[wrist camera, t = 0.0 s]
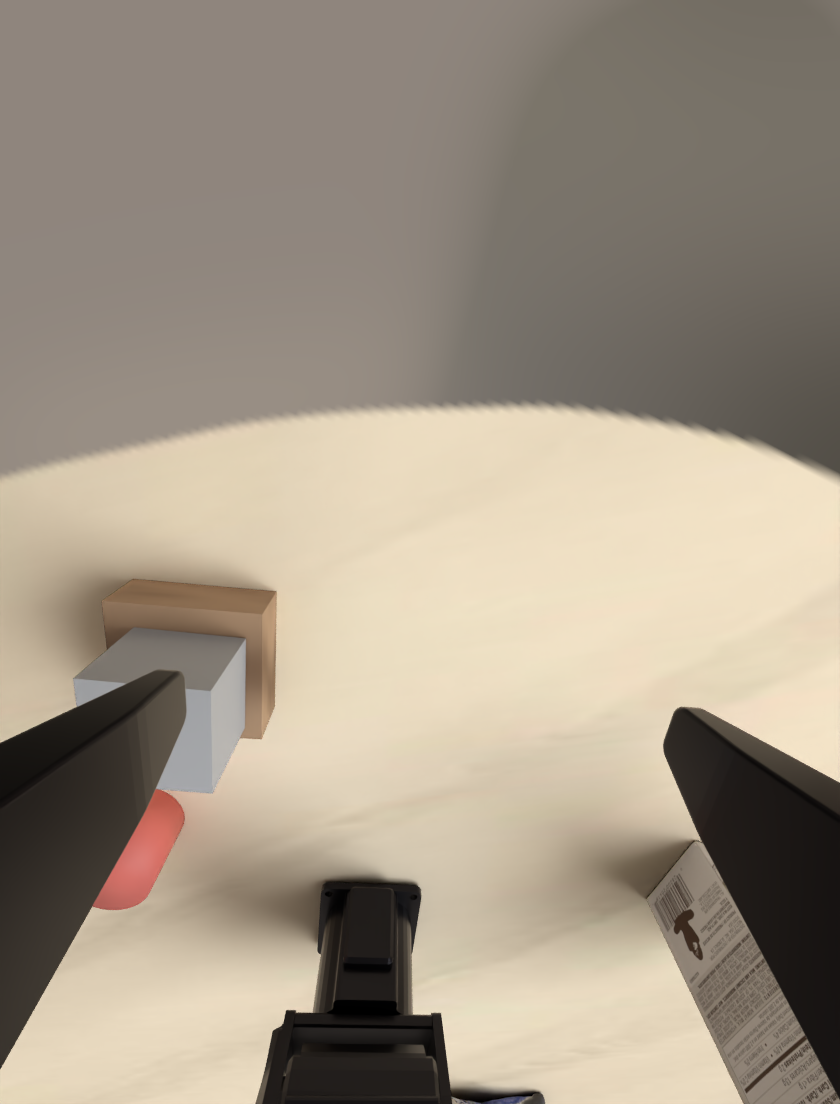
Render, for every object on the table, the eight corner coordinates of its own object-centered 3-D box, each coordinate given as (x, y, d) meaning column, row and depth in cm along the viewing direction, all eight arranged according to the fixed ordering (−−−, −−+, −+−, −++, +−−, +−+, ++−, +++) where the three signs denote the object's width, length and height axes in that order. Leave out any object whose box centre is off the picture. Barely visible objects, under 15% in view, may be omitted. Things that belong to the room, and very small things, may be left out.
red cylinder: (186, 843, 29) (154, 911, 25) (112, 839, 28) (68, 908, 25) (182, 788, 27) (147, 851, 23) (105, 784, 27) (57, 847, 23)
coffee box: (800, 872, 32) (1167, 1311, 17) (744, 931, 34) (1028, 1376, 18) (692, 836, 30) (988, 1285, 15) (639, 900, 32) (855, 1358, 17)
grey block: (244, 727, 23) (212, 793, 19) (140, 718, 22) (86, 783, 19) (245, 638, 21) (210, 690, 17) (134, 627, 21) (73, 678, 17)
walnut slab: (276, 701, 26) (261, 739, 23) (148, 692, 25) (116, 730, 23) (278, 588, 24) (262, 614, 21) (138, 575, 23) (101, 600, 20)
